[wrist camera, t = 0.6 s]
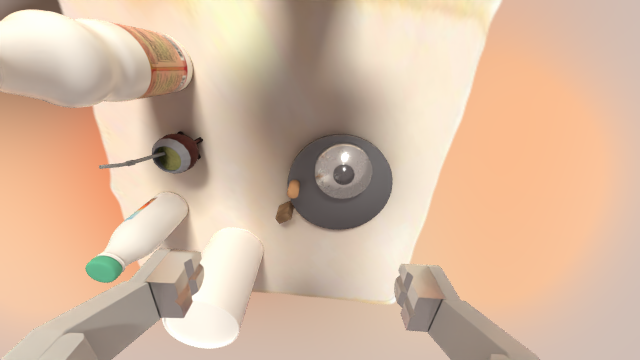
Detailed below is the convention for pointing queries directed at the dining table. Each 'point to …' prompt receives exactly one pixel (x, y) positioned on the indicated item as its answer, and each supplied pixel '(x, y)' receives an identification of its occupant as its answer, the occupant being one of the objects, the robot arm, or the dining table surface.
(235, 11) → the dining table surface
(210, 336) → the canister
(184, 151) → the mate gourd
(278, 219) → the brown wooden block
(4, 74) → the fruit juice
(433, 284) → the robot arm
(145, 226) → the milk bottle
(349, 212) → the turntable
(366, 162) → the cover
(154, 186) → the dining table surface
